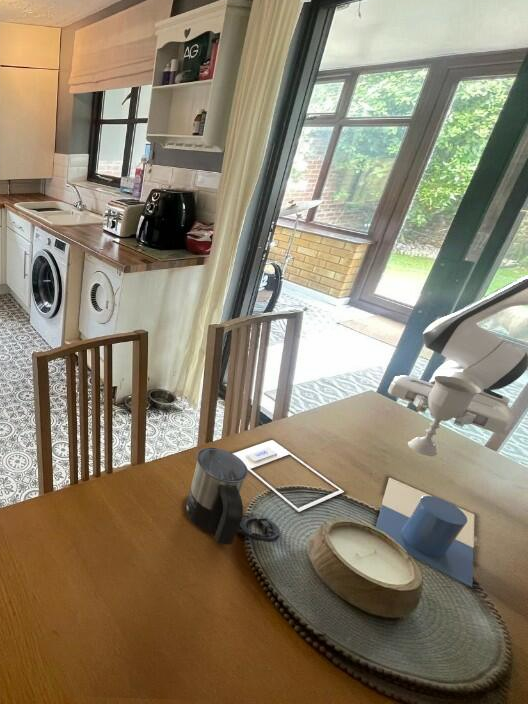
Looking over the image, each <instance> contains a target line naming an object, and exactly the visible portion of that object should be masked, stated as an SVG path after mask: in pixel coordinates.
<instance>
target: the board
mask: <svg viewBox="0 0 528 704" xmlns="http://www.w3.org/2000/svg"><path fill="white" fill-rule="evenodd" d="M424 496H432V495H430V494H428V493H426V492H424V491H422V490H420V489H417V488H414V487H412V486H410V485H408V484H405V483H403V482H401V481H398V480H397V479H394V478H392V477H388V481H387V484H386V487H385V490H384V495H383V499H382V502H381V507H380V510H379V515H378V518H377V522H376V526H375V529H376V528H377V529H379V530H381V531H383V532H385V533H386V534H388V535H389V536H390V537H392V538H393V539H394V540H395V541H396V542H397V543H399V544H400V545H401V546H402V547H403V549H405V550H406V551H407V553H408V554H407V553H406V554H407V555H408V556H411V557H413V558H415V559H416V560H419V561H421V562H422V563H424V564H427V565H428V566H430V567H432V568H434V569H435V570H438V571H440V572H442V573H443V574H445V575H448V576H449V577H451V578H453V579H455V580H457V581H459V582H461V583H463V584H465V585H467V586H469V587H471V588H473V580H474V579H473V578H474V548H475V516H476V515H475V514H474V513H472V512H470V511H467V510H465V509H463V508H460V507H458V506H456V507H457V508H459V509H460V510H461V511H462V512H463V513H464V514H465V515H466V517H467V523H466V524H465V526H464V527H463V529H462V530H461V532H460V533H459V535H458V536H457V537H456V539H455V540H454V542H453V543H452V545H451V546H450V548H449V549H448V551H447V552H446V554H445V555H444V556H442V557H432V556H429V555H426V554H424V553H421V552H420V551H418V550H416V549H415V548H413V547H412V546H411V545H409V544H408V543H407V542H406V541H405V539H404V538H403V536H402V529H403V528H404V526H405V524H406V523H407V521H408V519H409V518H410V516H411V514H412V512H413V511H414V509H415V507H416V506H417V504H418V502H419V501H420V499H421V498H422V497H424Z"/></svg>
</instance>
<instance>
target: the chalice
mask: <svg viewBox="0 0 528 704" xmlns="http://www.w3.org/2000/svg"><path fill="white" fill-rule="evenodd" d="M434 379H435V385H434V387H433V389H432V391H431V393H430V394H429V396H428V405H429V414H430V416H431V417H432V418H434V419H433V421H432V422H430V423H429V428H428V429H425V433H426V435H425V436H417V437H415V438H413V439H411V440H410V441H408V442H407V444H408V447H409V448H410V449H412V450H413V451H414V452H416V453H418V454H420V455H424V456H427V457H436V456H437V455H438V453H437V450H438V449H437V444H436V443H435V441H433V440H432V439H433V438H432V437H434V436H435V435H437V432H436V430H437V429H439V428H440V423H441V422H448V421H449V420H452V419H455V418H454V417H456V416H458V415H460V414H461V413H462V412H464V411H465V410H466V409H467V408H468V406H469V404H470V402H471V401H472V399H473V397H474V395H476V394H478V393H480V392H481V389H480V388H479V387H478V386H476V385H474V384H473V383H471V382H468V381H465V380H463V379H459V378H456V377H451V376H435V378H434Z"/></svg>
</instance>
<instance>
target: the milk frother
mask: <svg viewBox="0 0 528 704" xmlns="http://www.w3.org/2000/svg"><path fill="white" fill-rule="evenodd" d="M248 475H249V470H248V469H247V467H246V465H245V464H244V462H243V461H242V460H241V459H239V458H238V457H237V456H235V455H234V454H233V452H230V451H227V450H226V449H221V448H217V447H207V448H203V449H201V450H199V451H198V453H197V454H196V465H195V468H194V473H193V476H192V477H193V478H192V482H191V486H190V490H189V494H188V498H187V501H186V504H185V511H186V514H187V516H188V518H189V519H190V520H191V522H193V523H194V525H196V526H197V527H199V528H200V529H202V530H205V531H207V532H210V533H215V536H214V540H215V541H216V543H217V544H218V545H219V544H220V545H226V546H229V545H232V544H233V541H234V540H235V538H236V535H237V534H239V535H242V536H244V537H246V538H249V539H251V540H255V541H257V542H258V541H259V542H263V543H264V542H265V543H273V542H275V541H277V540H279V538H280V536H281V530H280V528H279V526H278V525H277V524H275V523H274V522H273V521H271V520H270V519H268V518H266V517H263V516H262V517H261V516H260V515H250V516H249V515H248V516H245V517H244V505H243V503H244V502H243V499H242V496H241V491H242V487H243V484H244V482H245V480H246V479H247V478H248ZM253 521H256V522H257V523H256V526H257V527H259V528H260V529H261V531H262V532H263V533H264V534H259V533H256V532H253V531H252V530H250V529H249V528H248V527H247V525H248V524H249V523H250V522H253Z"/></svg>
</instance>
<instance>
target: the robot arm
mask: <svg viewBox="0 0 528 704" xmlns="http://www.w3.org/2000/svg"><path fill="white" fill-rule="evenodd" d="M519 306H528V274H527V275H525V276H521V277H520V278H518V279H516V280H514V281H511V282H510V283H508V284H506V285H504V286H502V287H500V288H498V289H496V290H494V291H492V292H491V293H489V294H486V295H485V296H483V297H481V298H479V299H478V300H476V301H473V302H472V303H469V304H468V305H466V306H464V307H462V308H460V309H458V310H457V311H454V312H452V313H450V314H448V315H446V316H443V317H441V318H439V319H436V320H435V321H433V322H432V323H430V324H429V325H427V327H426V328H425V329H424V331H423V332H422V340H423V344H424V346H425V348H427V349H429V350H430V351H432V352H434V353H436V354H438V355H441V356H443V357H445V358H446V359H448V360H447V361H445V362H443V363H441V365H439V367H438V368H437V369H435V371H434V372H433V373H432V376H431V378H430V379H429V381H426V380H423V379H419V378H417V377H414V376H411V375H406V374H405V375H402V374H401V375H395V376H394V377H393V378H392V381H391V382H390V385H389V387H388V389H387V393H388V394H389V395H390V396H392V397H394V398H397V399H400V400H403V401H406V402H408V403H412V404H413V405H414V406H415V407H416V411H418V412H421V413H423V414H425V413H426V411H427V409H429V405H428V396H429V394H430V393H431V391H432V389H433V387H434V385H435V379H434V378H435V376H451V377H456V378H459V379H463V380H465V381H468V382H471V383H473V384H474V385H476V386H478V387H479V388H480V389H481V392H480V393H478V394H476V395H474V397H473V399H472V401H471V402H470V404H469V406H468V408H467V409H466V410H465V411H464V412H462V413H461V414H460V415H458V416H456V417H454V418H453V419H454V421H453V424H454V425H456V426H459V427H461V428H462V427H464V426H465V425H473V426H475V427H478V428H481V429H484V430H487V431H489V432H492V433H494V434H497V435H507V433H508V432H509V430H510V429H511V427H512V426H513V424H514V420H515V419H514V418H515V417H514V411H513V409H512V408H511V407H510V406H509V403H510V399H509V398H508V397H506V396H504V395H502V394H500V393H497V392H496V390H501V389H503V388H505V387H508V386H509V385H511V384H512V383H514V382H516V381H517V380H518V379H520V377H521V376H523V374H524V373H526V371H527V369H528V353H527V351H525V350H524V349H521V348H520V347H518V346H516V345H514V344H513V343H511V342H509V341H507V340H506V339H504V338H501V337H499V336H497V335H495V334H494V333H492V332H490V331H488V330H486V329H485V328H483V327H481V326H479V325H478V323H481V322H482V321H484V320H486V319H489V318H490V317H492V316H494V315H497V314H498V313H500V312H503V311H504V310H507V309H509V308H512V307H519ZM429 410H430V409H429Z"/></svg>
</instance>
